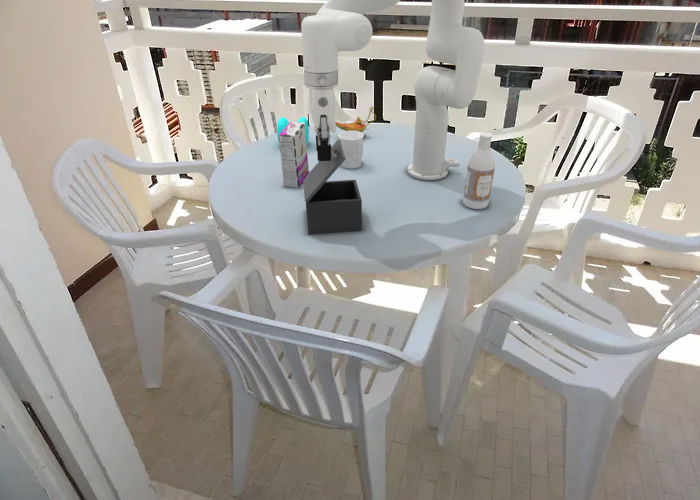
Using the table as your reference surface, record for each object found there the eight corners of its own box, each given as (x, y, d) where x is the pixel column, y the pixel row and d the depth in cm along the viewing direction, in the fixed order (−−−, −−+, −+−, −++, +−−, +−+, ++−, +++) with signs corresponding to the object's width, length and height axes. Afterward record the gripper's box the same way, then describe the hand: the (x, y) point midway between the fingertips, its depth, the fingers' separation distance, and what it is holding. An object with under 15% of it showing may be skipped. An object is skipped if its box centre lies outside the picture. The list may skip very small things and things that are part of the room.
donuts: (307, 151, 166) (305, 122, 160) (278, 151, 166) (275, 122, 160) (309, 140, 174) (308, 113, 169) (282, 140, 174) (279, 113, 169)
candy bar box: (293, 171, 152) (289, 121, 143) (309, 172, 151) (305, 122, 142) (282, 187, 143) (277, 134, 134) (299, 188, 142) (294, 135, 133)
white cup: (335, 167, 154) (334, 137, 149) (344, 158, 160) (344, 129, 155) (358, 171, 152) (358, 141, 146) (366, 161, 158) (367, 132, 152)
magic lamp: (326, 135, 178) (325, 106, 172) (373, 132, 180) (374, 103, 174) (328, 142, 172) (327, 112, 166) (377, 139, 174) (378, 108, 168)
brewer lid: (340, 140, 120) (322, 126, 118) (345, 159, 111) (326, 144, 108) (305, 181, 126) (287, 169, 123) (307, 202, 116) (287, 189, 114)
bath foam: (469, 211, 130) (479, 140, 119) (458, 199, 136) (467, 131, 124) (492, 208, 131) (505, 138, 120) (481, 196, 137) (492, 128, 126)
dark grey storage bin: (355, 208, 132) (355, 179, 127) (361, 230, 122) (361, 200, 117) (306, 211, 131) (304, 182, 126) (308, 234, 121) (306, 203, 116)
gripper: (341, 88, 99) (342, 169, 109) (334, 68, 113) (336, 142, 123) (305, 89, 99) (309, 171, 109) (302, 69, 113) (306, 143, 123)
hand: (323, 154), depth 116 cm, fingers closed on brewer lid, 5 cm apart
